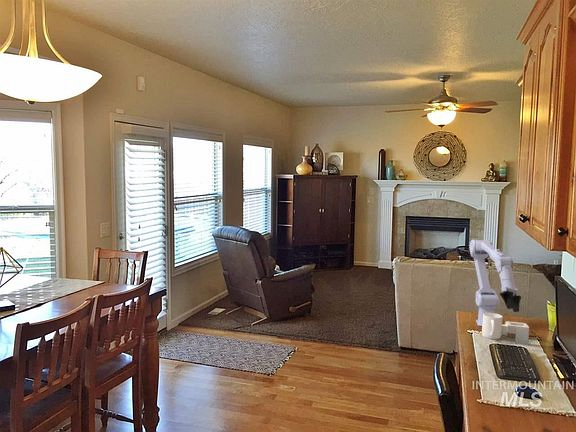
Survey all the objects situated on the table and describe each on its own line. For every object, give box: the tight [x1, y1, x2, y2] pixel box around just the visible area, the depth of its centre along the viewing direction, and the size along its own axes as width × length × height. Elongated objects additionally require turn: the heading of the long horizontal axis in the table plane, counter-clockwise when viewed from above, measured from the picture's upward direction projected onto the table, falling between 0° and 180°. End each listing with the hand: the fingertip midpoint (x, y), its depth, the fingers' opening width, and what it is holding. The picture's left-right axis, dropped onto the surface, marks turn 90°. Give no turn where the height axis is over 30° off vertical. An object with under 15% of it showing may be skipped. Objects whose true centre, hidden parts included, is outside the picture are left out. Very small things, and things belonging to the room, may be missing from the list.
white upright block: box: [514, 327, 530, 346], centre depth 213 cm, size 2×5×7 cm, turn 75°
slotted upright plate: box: [501, 320, 530, 340], centre depth 224 cm, size 7×18×6 cm, turn 74°
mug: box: [481, 312, 503, 340], centre depth 219 cm, size 12×8×10 cm
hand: (513, 310), depth 213 cm, fingers open, 7 cm apart
